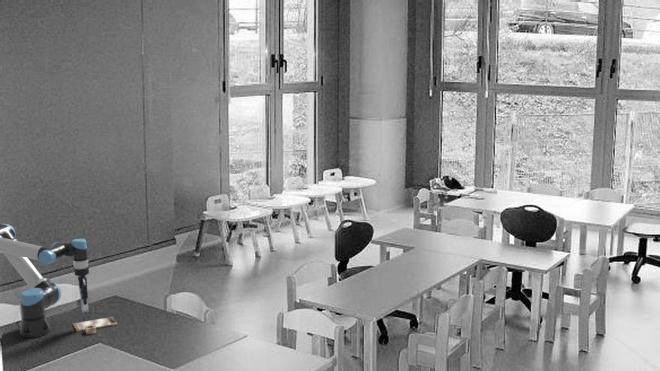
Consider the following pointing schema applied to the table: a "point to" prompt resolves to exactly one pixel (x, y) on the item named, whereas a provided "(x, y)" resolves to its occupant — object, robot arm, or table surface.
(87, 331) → the stand
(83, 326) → the clipboard
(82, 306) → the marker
